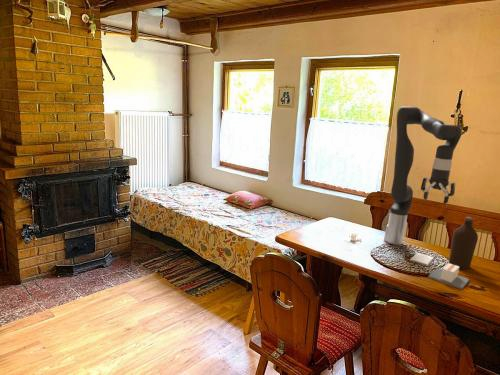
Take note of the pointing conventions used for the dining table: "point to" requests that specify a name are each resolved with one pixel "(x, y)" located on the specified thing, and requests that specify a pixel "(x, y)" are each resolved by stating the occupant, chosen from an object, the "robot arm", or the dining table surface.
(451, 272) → the block
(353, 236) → the teacup and saucer
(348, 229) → the dining table surface
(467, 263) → the olive oil
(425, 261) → the external hard drive
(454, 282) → the mat
